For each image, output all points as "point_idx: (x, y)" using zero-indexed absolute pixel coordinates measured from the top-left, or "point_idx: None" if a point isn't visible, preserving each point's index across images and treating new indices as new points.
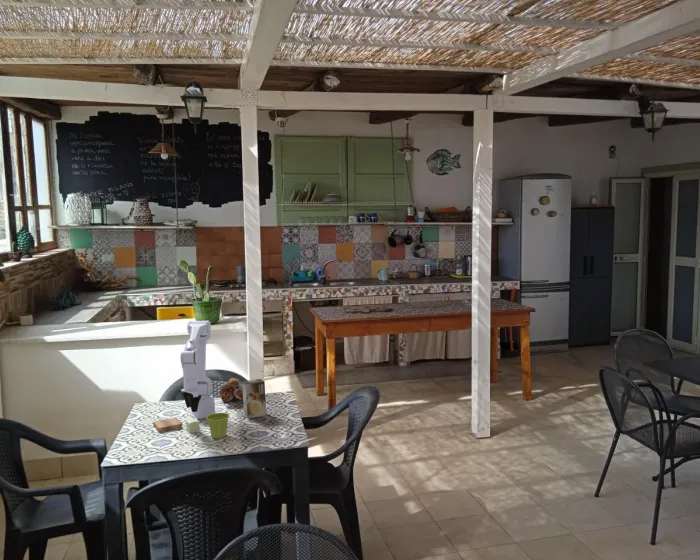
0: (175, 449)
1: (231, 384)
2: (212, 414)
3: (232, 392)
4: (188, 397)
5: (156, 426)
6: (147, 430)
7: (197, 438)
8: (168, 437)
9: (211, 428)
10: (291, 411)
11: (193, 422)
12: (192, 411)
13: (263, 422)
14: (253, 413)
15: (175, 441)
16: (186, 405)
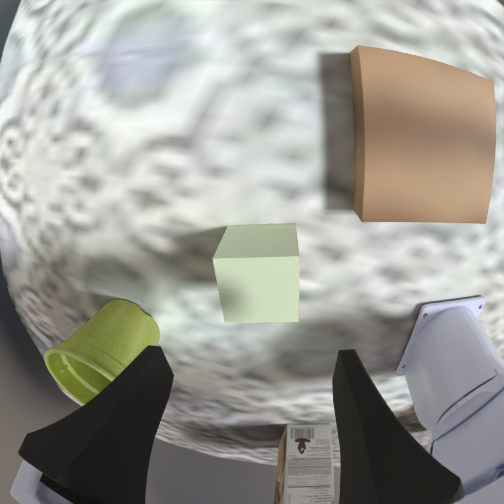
0: (39, 130)
1: None
2: None
3: None
4: (19, 453)
5: (418, 57)
6: (422, 22)
7: (127, 244)
8: (211, 89)
9: (84, 325)
10: (273, 463)
11: (219, 289)
12: (143, 351)
13: (224, 431)
14: (282, 443)
15: (123, 127)
16: (346, 365)
